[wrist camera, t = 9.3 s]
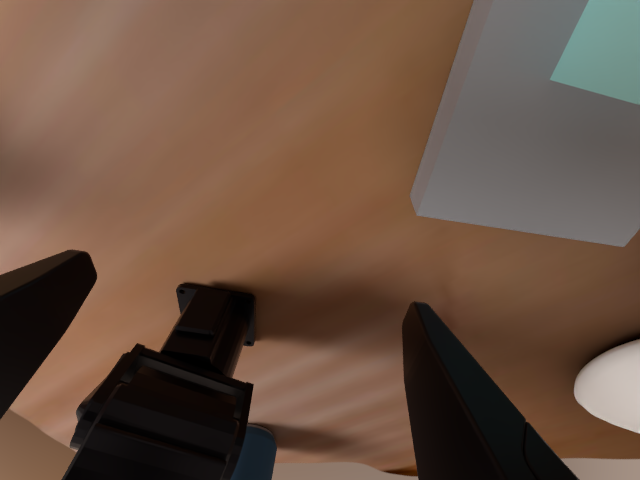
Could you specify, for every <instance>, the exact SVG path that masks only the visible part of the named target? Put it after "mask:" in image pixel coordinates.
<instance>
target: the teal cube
mask: <svg viewBox="0 0 640 480" xmlns="http://www.w3.org/2000/svg"><path fill="white" fill-rule="evenodd" d="M550 80H552V81H556V82H559V83H563V84H566V85H570V86H574V87H577V88H581V89H584V90H588V91H591V92H595V93H599V94H602V95H606V96H609V97H613V98H616V99H620V100H624V101H627V102H631V103H634V104H638V105H640V0H589V1H588V3H587V5H586V7H585V9H584V11H583V13H582V15H581V17H580V19H579V21H578V23H577V25H576V27H575V29H574V31H573V33H572V36H571V38H570V40H569V42H568V44H567V46H566V48H565V50H564V52H563V54H562V56H561V58H560V60H559V62H558V64H557V66H556V68H555V70H554V72H553V74H552V76H551V78H550Z"/></svg>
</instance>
